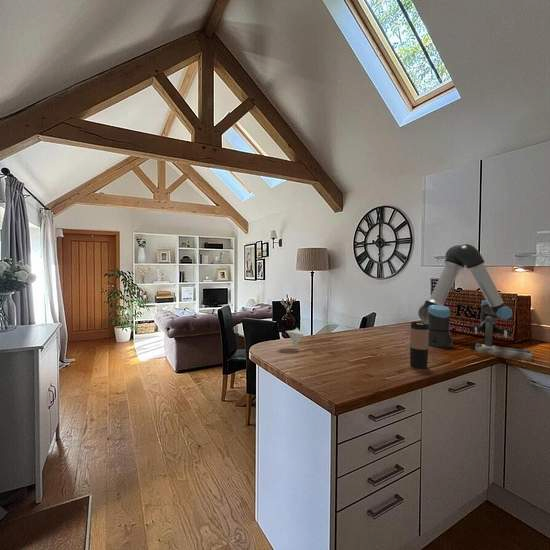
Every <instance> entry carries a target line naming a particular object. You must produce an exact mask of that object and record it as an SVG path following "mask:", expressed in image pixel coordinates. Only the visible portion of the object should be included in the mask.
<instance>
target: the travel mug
mask: <svg viewBox="0 0 550 550" xmlns="http://www.w3.org/2000/svg"><path fill="white" fill-rule="evenodd" d="M409 338H410V341H409V342H410V343H409V354H410V355H409V356H410V357H409V359H410V361H409V363H410V364H409V365H410V367H411V368H412V367H413V368H416V369H427V368H428V360H429V345H428V339H429V324H428V323H425V322H423V321H411V322H410V337H409Z"/></svg>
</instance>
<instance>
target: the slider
mask: <svg viewBox="0 0 550 550" xmlns="http://www.w3.org/2000/svg"><path fill="white" fill-rule="evenodd" d="M485 321H486V328H485V333H484V334H485V336H484V344H483V343H481V345H482V347H485V348H493V349H495V346H496V345H493V334H492V332H493V321H494V319H493V317H491V316H487V317H486V318H485Z"/></svg>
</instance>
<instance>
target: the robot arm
mask: <svg viewBox="0 0 550 550" xmlns="http://www.w3.org/2000/svg"><path fill="white" fill-rule="evenodd" d="M444 265H445V266H444V268H443V270H442V272H441V274H440V276H439V278H438V280H437V282H436V284H435V287H434V289H433V290H432V292H431V295H430V296H429V298H428V299H426V300H425V301H424V303H423V304H422V305H421V306H420V307H419V308H418V311H417V316H418V317H419V319H420V320H421V322H423V323H425V324H429V339H428V347H429V346H430V347H436V348H445V349H446V348H452V347H454V346H453V345H454V343H453V339H452V336H451V332H450V327H451V309H450V307H448V306H445V305H444V304H445V301H446V300H447V297H448V295H449V293H450V291H451V289H452V287H453V285H454V283H455V281H456V279H457V277H458V275H459V272H460V271H462V270H464V268H466V269H468V270H469V271H470V272H471V274H472V276H473V278H474V279H475V282H476V283H477V286H478V287H479V289H480V291H481V293H482V295H483V296H484V300H482V301H481V305H480V326H479V325H477V324H476V325H472V326H469V327H468V332H472V333H473V334H475V335H478V334H477V333H478V332H481V333H484V334H485V328H486V321H485V318H486V317H487V316H491V317H493V319H494V321H493V332H492V335H493V334H500V335H503V336H504V337H505V338H507V337H508V336H513V330H510V329H506V328H504V327H500V328H499V327H497V326H496V319H499V320H509V319H510V318H511V317H512V316H513V310H512V308H510V307H508V306H506V304H505V302H504V301H503V298H502V296H501V294H500V292H499V291H498V289H497V287H496V285H495V283H494V281H493V280H492V279H493V278H492V277H491V275H490V274H489V271H488V270H487V268H486V266H485V260H484V258H483V256H482V254H481V252H480V251H479V250H478V249H477V248H476V247H475V246H473V245H472V244H468V243H465V244H459V245H453V246H452V247H449V248H448V249H447V250H446V251H445V259H444Z"/></svg>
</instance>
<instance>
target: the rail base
mask: <svg viewBox="0 0 550 550" xmlns="http://www.w3.org/2000/svg"><path fill="white" fill-rule="evenodd" d="M494 346H495V349H493V348H485V347H482V343H480V342H476V343H475V345H474V353H479V354H487V355H494V356H499V357H498V358H503V359H510V360H516V359H519V360H518V361H523V360H529V361H528V362H530V361H532V362H533V354H532V353H531V350H530V349H529V348H523V349H520V348H511V347H502V346H497V345H494ZM479 354H478V355H479ZM487 355H486V356H487ZM494 356H493V357H494Z"/></svg>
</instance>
